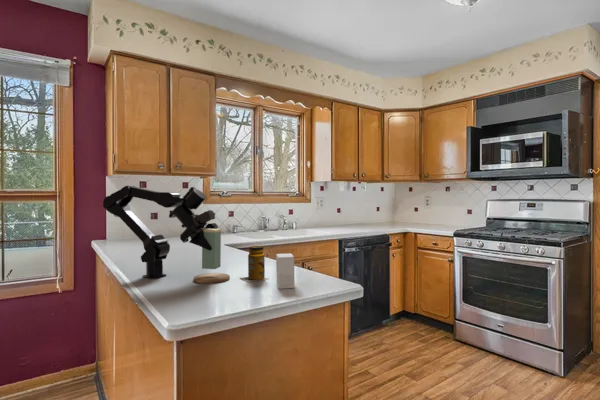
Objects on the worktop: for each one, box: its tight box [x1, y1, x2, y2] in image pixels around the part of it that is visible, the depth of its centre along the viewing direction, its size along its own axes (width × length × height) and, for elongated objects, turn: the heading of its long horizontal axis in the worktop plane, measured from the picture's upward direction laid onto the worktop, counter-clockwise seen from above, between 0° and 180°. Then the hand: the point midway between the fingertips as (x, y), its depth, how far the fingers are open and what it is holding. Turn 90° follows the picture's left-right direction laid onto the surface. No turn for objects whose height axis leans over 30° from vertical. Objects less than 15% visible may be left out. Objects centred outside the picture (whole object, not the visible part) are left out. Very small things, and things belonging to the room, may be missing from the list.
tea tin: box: [201, 228, 222, 270], centre depth 133 cm, size 5×5×14 cm
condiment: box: [240, 245, 269, 283], centre depth 133 cm, size 7×8×12 cm
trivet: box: [193, 272, 231, 285], centre depth 133 cm, size 13×13×1 cm
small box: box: [275, 253, 296, 290], centre depth 122 cm, size 8×6×10 cm
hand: (214, 248), depth 132 cm, fingers closed on tea tin, 5 cm apart
